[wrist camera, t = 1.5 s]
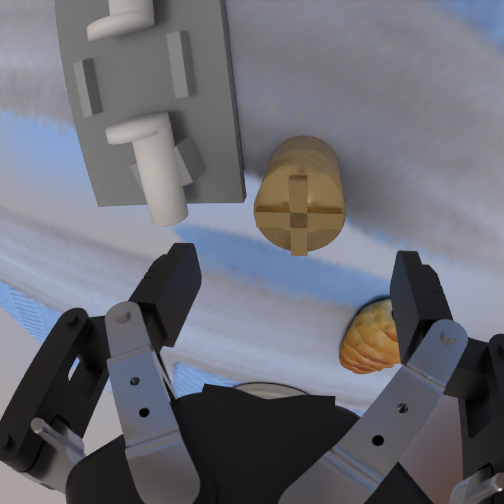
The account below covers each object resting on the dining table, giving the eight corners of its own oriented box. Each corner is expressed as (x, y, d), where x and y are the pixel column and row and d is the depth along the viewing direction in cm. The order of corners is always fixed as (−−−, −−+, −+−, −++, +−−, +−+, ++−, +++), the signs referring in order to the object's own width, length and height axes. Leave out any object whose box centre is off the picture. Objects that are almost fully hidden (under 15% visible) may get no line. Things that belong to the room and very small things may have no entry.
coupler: (268, 136, 19) (246, 176, 14) (339, 136, 18) (348, 177, 13) (272, 198, 21) (255, 257, 16) (337, 200, 21) (343, 260, 15)
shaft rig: (62, -16, 13) (13, -16, 9) (215, -73, 11) (184, -102, 7) (105, 200, 24) (69, 234, 20) (246, 196, 22) (228, 237, 18)
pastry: (376, 365, 31) (377, 395, 28) (321, 347, 30) (319, 379, 27) (433, 310, 25) (441, 343, 22) (374, 286, 25) (378, 320, 22)
